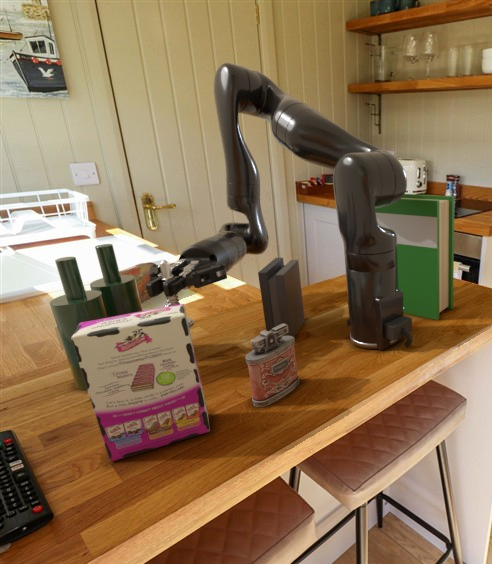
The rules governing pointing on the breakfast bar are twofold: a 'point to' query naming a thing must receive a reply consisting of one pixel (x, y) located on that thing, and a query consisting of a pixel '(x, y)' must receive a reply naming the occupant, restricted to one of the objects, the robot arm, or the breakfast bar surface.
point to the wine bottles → (91, 301)
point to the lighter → (272, 366)
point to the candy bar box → (142, 379)
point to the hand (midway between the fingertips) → (158, 290)
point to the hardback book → (423, 251)
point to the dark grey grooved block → (282, 295)
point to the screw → (165, 277)
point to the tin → (140, 278)
